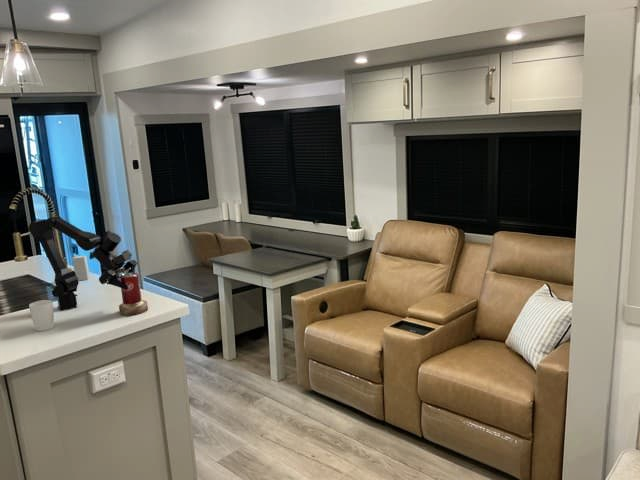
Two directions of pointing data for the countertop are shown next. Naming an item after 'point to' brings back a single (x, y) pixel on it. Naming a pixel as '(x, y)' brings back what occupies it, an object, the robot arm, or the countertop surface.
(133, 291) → the soda can
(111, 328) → the countertop surface
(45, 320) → the white cup
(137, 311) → the pedestal
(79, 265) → the skincare box
